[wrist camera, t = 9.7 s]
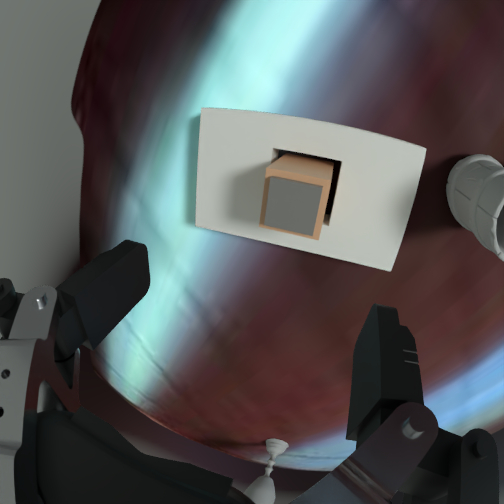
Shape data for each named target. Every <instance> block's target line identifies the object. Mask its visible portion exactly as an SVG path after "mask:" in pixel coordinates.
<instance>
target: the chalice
mask: <svg viewBox="0 0 504 504" xmlns="http://www.w3.org/2000/svg"><path fill="white" fill-rule="evenodd" d="M266 444H267V445H266V447H267V451H268V452H269V453H270V454H271V458H270V459H269V460H268V461H267V462H268V466H267V467H266V468H265V469H266V473H265V475H264V476H260V477H259V478H257V479H256V480H255V481H254V482H253V483H252V484H251V485H250V486H249V487H248V488H247V490H246V491H245V493H244V494H245V495H246V496H248V497H249V498H250V499H251V500H252V501H253V502H255V503H256V504H273V503H274V500H275V489H274V484H273V480H272V479H271V478H269V474H270V473H271V471H272V470H273V469H272V466H273V464H275V457H276V456H277V455H280V454H282V453H283V451H285V450H286V448H287V447H288V444H287V443H286V442H284V441H282V440H278V439H268V440H266Z"/></svg>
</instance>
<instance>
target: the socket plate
mask: <svg viewBox="0 0 504 504" xmlns="http://www.w3.org/2000/svg"><path fill="white" fill-rule="evenodd" d="M279 149H282V150H288V151H294V152H299V153H305V154H310V155H315V156H320V157H325V158H329V159H334V160H339V161H341V164H340V170H339V175H338V180H337V185H336V190H335V195H334V200H333V204H332V209H331V214H330V215H327V214H324V219H323V224H322V228H321V233H320V237H319V240H314V239H310V238H306V237H301V236H297V235H293V234H288V233H284V232H280V231H275V230H271V229H266V228H262V227H259V222H260V214H261V206H262V198H263V190H264V182H265V174H266V167H268V166H269V165H271V164H272V163H273V162H275V161H276V160H278V154H279ZM425 153H426V148H424V147H421V146H419V145H416V144H413V143H410V142H406V141H403V140H400V139H396V138H393V137H389V136H386V135H382V134H378V133H374V132H370V131H366V130H362V129H358V128H354V127H349V126H345V125H340V124H335V123H330V122H325V121H320V120H315V119H309V118H303V117H297V116H290V115H283V114H276V113H268V112H259V111H250V110H239V109H227V108H201V118H200V132H199V148H198V166H197V188H196V220H195V226H197V227H201V228H206V229H210V230H215V231H219V232H224V233H228V234H233V235H237V236H242V237H246V238H251V239H255V240H259V241H264V242H268V243H272V244H277V245H281V246H285V247H290V248H294V249H298V250H303V251H307V252H311V253H316V254H320V255H324V256H328V257H332V258H337V259H341V260H345V261H349V262H353V263H358V264H362V265H366V266H370V267H374V268H378V269H382V270H387V271H391V269H392V267H393V264H394V261H395V258H396V256H397V253H398V250H399V247H400V244H401V241H402V238H403V235H404V232H405V229H406V226H407V222H408V219H409V216H410V213H411V209H412V206H413V202H414V198H415V195H416V191H417V187H418V183H419V179H420V175H421V171H422V167H423V163H424V158H425Z"/></svg>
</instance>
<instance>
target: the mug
mask: <svg viewBox="0 0 504 504" xmlns="http://www.w3.org/2000/svg"><path fill="white" fill-rule="evenodd" d="M448 183H449V184H448ZM448 183H447V185H446V194H447V200H448V203H449V207H450V210H451V212H452V214H453V216H454V217H455V219H456V220H457V221H458V222H459V223H460V224H461V225H462V226H463V227H464V228H466V229H468V230H470V231H472V232H473V233H474V235H475V236H476V238H477V239H478V240H479V242H480V243H481V244H482V245H483V246H484V247H486V248H487V249H489V250H491V251H492V252H494V253H495V254H496V255H497V256H498V257H499V258H500V259H501V260H502V261H504V167H503V166H502V165H501V164H500V163H499V162H498V161H496V160H495V159H493V158H492V157H491V156H489V155H482V154H476V155H471V156H468V157H466V158H465V159H462V160H459V161H458V162H457V163H456V164H455V166H454V167H453V168H452V170H451V171H450V174H449V177H448Z"/></svg>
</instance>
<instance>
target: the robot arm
mask: <svg viewBox="0 0 504 504" xmlns="http://www.w3.org/2000/svg"><path fill="white" fill-rule="evenodd" d="M149 286H150V272H149V262H148V251H147V247H146V245H144V244H142V243H138V242H134V241H131V240H124V241H123V242H121V243H120V244H119V245H117V246H116V247H114V248H113V249H112V250H109V251H107V252H104V253H102V254H100V255H98V256H97V257H96V258H94V259H93V260H92V261H91V263H90V262H89V263H88V264H86V265H85V266H84V267H83V268H81V269H80V270H78V271H77V272H76V273H74V274H73V275H72V276H70V277H69V278H68V279H67V280H65V281H64V282H63V283H62V284H60V285H59V286H58V287H56V288H55V289H54V288H53V287H51V286H38V287H35V288H33V289H31V290H30V291H28V292H27V293H26V294H22V293H17V292H15V289H14V287H13V284H12V282H11V280H10V279H7V278H1V279H0V333H1V334H2V336H3V337H2V338H1V339H0V504H256V503H255V502H253V501H252V500H251V499H250V498H249V497H248V496H246V495H245V494H243V493H242V492H241V491H239V490H237V489H236V488H234V487H232V482H233V479H232V478H229V477H225V476H223V475H220V474H216V473H214V472H211V471H208V470H205V469H203V468H200V467H197V466H195V465H192V464H190V463H184V462H179V461H173V460H168V459H163V458H158V457H154V456H150V455H146V454H143V453H141V452H140V451H139V450H137V449H136V448H135V447H134V446H133V445H132V444H131V443H129V442H128V441H127V440H126V439H125V438H124V437H123V436H122V435H121V434H120V433H119V432H118V431H117V430H116V429H115V428H114V427H113V426H111V425H110V424H109V423H107V422H105V421H104V420H102V419H100V418H99V417H97V416H96V415H94V414H92V413H91V412H89V411H88V410H86V409H85V408H83V407H82V406H81V405H80V402H79V398H78V379H79V360H80V352H79V349H78V348H79V347H80V346H81V345H82V344H83V345H84V346H86V347H88V348H90V349H91V350H94V349H95V348H96V347H97V346H98V345H99V344H100V343H101V341H102V340H103V339H104V338H105V337H106V336H107V335H108V334H109V333H110V332H111V331H112V330H113V329H114V327H115V326H116V325H117V324H118V323H119V322H120V321H121V320H122V319H123V318H124V317H125V316H126V315H127V314H128V313H129V312H130V311H131V309H132V308H133V307H134V306H135V305H136V304H137V303H138V302H139V301H140V300H141V299H142V298H143V297H144V296H145V295H146V293H147V292H148V289H149ZM416 353H417V349H416V344H415V339H414V337H413V335H412V334H411V332H410V331H409V329H408V328H407V327H406V326H402V325H400V324H399V318H398V312H397V309H396V308H393V307H389V306H384V305H380V304H376V303H375V304H373V306H372V308H371V310H370V312H369V314H368V317H367V319H366V321H365V323H364V326H363V328H362V330H361V332H360V334H359V336H358V339H357V342H356V345H355V349H354V355H353V371H352V385H351V397H350V407H349V416H348V425H347V433H346V440H353V441H357V443H356V450H355V451H354V452H353V453H352V454H351V455H350V456H349V457H348V458H347V459H346V460H344V461H343V462H342V463H341V464H340V465H339V466H338V467H336V468H335V469H334V470H333V471H332V472H330V473H329V474H328V475H327V476H326V477H324V478H323V479H322V480H320V482H318V483H317V484H315V485H314V486H313V487H311V488H310V489H309V490H307V491H306V492H305V493H303V494H302V495H301V496H299V497H298V498H296V499H295V500H293V501H292V502H290V503H289V504H392V502H391V501H390V499H391V497H392V496H393V495H394V494H395V492H396V491H397V490H398V491H401V492H404V497H403V504H499V470H498V454H497V447H496V443H495V440H494V439H493V437H492V436H491V435H490V433H488V432H487V431H485V430H483V429H479V428H478V429H472V430H470V431H469V432H468V433H467V434H465V435H464V436H463V437H461V436H458V435H456V434H453V433H451V432H448V431H445V430H443V429H441V428H439V427H438V422H437V419H436V417H435V415H434V414H433V412H432V411H431V410H430V409H429V408H427V407H426V406H424V401H423V391H422V383H421V375H420V368H419V365H418V355H417V354H416Z"/></svg>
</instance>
